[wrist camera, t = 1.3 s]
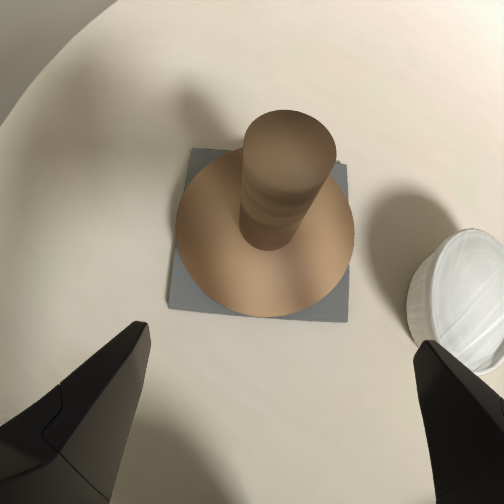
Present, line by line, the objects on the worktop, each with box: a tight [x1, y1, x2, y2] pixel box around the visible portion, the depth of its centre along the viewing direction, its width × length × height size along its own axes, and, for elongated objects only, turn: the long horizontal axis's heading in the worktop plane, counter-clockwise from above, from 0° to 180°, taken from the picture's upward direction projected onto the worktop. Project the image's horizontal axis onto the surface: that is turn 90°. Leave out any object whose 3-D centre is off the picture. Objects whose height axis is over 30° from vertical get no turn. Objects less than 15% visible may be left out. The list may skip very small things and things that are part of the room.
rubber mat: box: [168, 148, 349, 323], centre depth 24 cm, size 13×13×1 cm
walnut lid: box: [176, 110, 355, 317], centre depth 18 cm, size 13×13×11 cm
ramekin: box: [406, 228, 504, 376], centre depth 21 cm, size 11×11×5 cm
